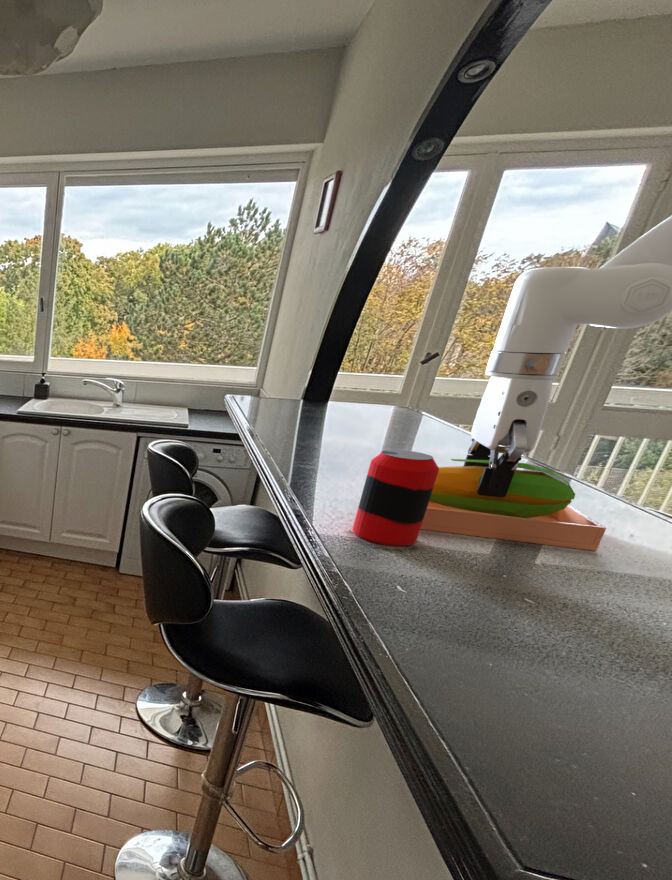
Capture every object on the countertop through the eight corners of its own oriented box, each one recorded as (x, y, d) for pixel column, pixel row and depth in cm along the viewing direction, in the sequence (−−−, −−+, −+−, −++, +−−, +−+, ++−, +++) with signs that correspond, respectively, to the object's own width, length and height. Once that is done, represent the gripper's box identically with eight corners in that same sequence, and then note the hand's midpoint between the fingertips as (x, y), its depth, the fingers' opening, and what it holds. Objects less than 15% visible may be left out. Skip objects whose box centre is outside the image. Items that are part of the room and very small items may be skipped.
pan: (552, 519, 91) (561, 499, 89) (596, 551, 79) (606, 528, 78) (367, 499, 100) (372, 480, 99) (382, 524, 89) (388, 503, 88)
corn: (591, 474, 78) (406, 453, 89) (569, 528, 81) (392, 502, 92) (578, 466, 84) (406, 448, 95) (559, 517, 86) (393, 493, 97)
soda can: (350, 524, 89) (371, 446, 84) (411, 533, 85) (437, 452, 81) (353, 540, 83) (375, 457, 78) (419, 550, 79) (447, 464, 75)
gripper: (590, 373, 72) (537, 508, 79) (533, 361, 87) (492, 476, 94) (512, 370, 75) (467, 501, 82) (469, 359, 90) (434, 471, 97)
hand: (481, 487), depth 88 cm, fingers closed on corn, 7 cm apart
